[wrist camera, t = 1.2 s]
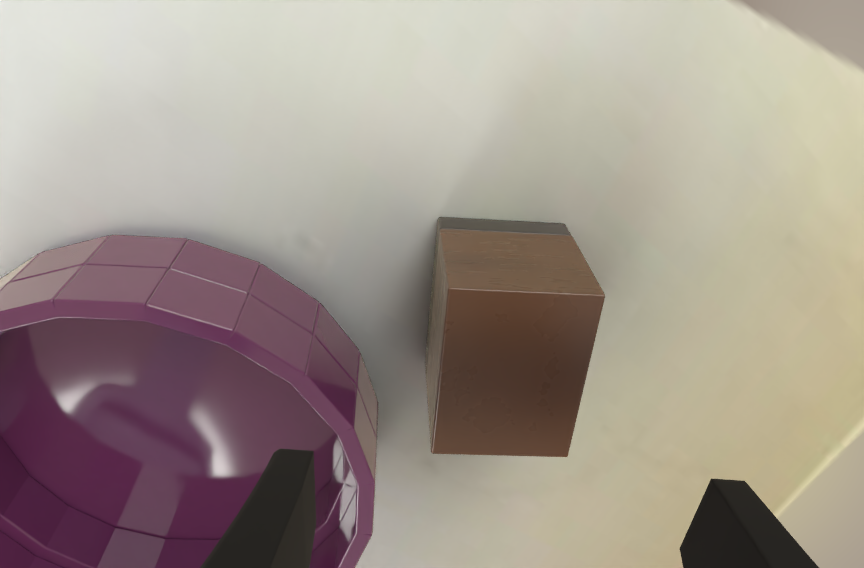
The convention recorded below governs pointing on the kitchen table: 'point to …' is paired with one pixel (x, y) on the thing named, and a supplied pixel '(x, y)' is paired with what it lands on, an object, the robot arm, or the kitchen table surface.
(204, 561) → the robot arm
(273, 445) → the bowl
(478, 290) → the eraser
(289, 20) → the kitchen table surface
